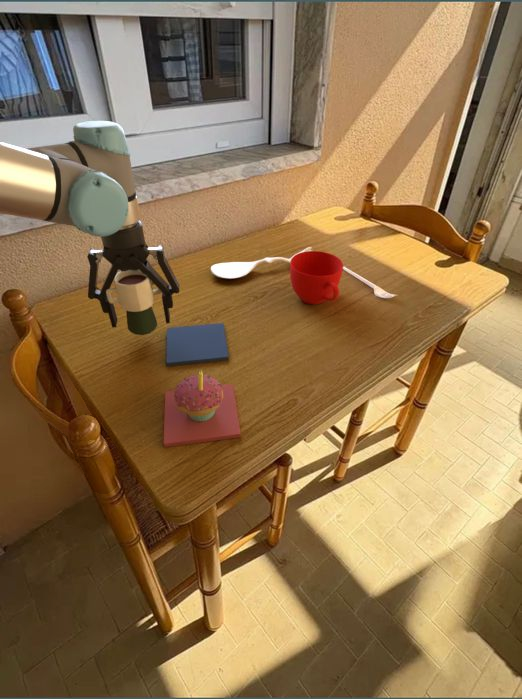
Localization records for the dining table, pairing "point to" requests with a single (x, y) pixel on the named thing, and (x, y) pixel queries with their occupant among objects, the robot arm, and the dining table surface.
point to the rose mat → (201, 422)
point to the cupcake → (198, 396)
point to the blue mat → (196, 344)
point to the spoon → (244, 266)
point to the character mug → (135, 300)
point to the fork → (377, 290)
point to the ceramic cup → (315, 276)
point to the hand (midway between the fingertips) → (141, 321)
